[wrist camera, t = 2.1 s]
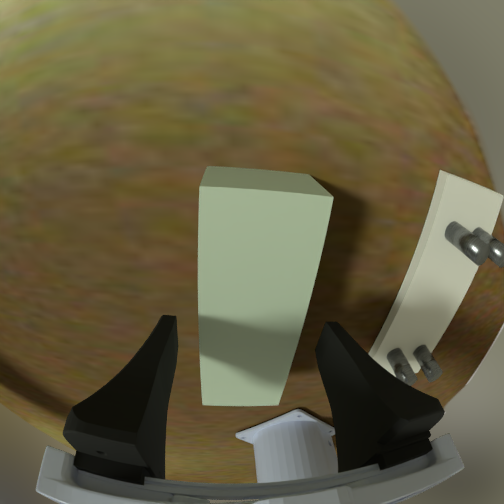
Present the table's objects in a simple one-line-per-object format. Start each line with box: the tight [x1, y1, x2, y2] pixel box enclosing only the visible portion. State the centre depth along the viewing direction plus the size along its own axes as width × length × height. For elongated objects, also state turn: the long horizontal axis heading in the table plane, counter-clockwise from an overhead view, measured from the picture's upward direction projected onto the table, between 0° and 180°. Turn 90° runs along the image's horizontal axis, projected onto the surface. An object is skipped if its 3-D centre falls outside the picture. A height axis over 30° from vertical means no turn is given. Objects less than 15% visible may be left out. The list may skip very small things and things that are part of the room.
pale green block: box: [198, 166, 334, 406], centre depth 15 cm, size 14×5×4 cm, turn 174°
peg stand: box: [368, 170, 504, 386], centre depth 17 cm, size 18×7×4 cm, turn 173°
